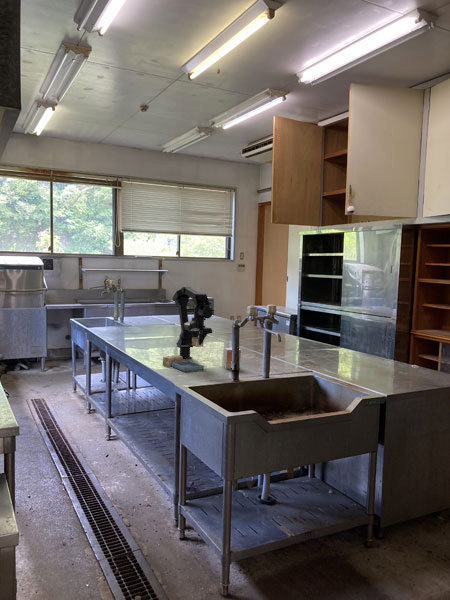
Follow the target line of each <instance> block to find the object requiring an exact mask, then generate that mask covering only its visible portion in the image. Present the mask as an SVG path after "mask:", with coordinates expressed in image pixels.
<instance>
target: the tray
mask: <svg viewBox="0 0 450 600" xmlns="http://www.w3.org/2000/svg"><path fill="white" fill-rule="evenodd" d="M170 367H172V368H174V369H176V370H179V371H181V372H184V373H187V372H197V371H204V365H203V364H200V363H197V362H194V361H192V360H183V361H180V362H171V366H170Z"/></svg>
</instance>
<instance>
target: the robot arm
mask: <svg viewBox="0 0 450 600" xmlns="http://www.w3.org/2000/svg"><path fill="white" fill-rule="evenodd" d="M173 299H174V304H175V305H176V306H177V309H178V313H179V316H178V317H179V321H180V334H179V336H178V337H179V338H178V340H177V343H176V347H177V348H178V349H179V355H180V356H182V357H183V360H184V359H185V360H186V359H192V358H193V356H191V348H194V346H192V338H193V337H199V345H201V344H202V342H203V340H205V338H206V337H207V335H208V334H213V328H211V327H208V326H207V327H206V325H205V321H206V319H207V320H208V319H210V318H212V317H213V314H214V313H213V310H212V308H211V307H210V300H209V298H208V295H207V294H206V293H204V292H198V291H196V290H194V289H193V288H192V287H190V286H182V287H181V288H180V289H179V290H177V291H176V292H175V293H174V295H173ZM190 299H191V301H192V303H193V309H194V310H193V317H191V320H190V321H189V316H188V315H189V314H188V308H187V306H188V304H189V300H190ZM203 343H204V342H203Z"/></svg>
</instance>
